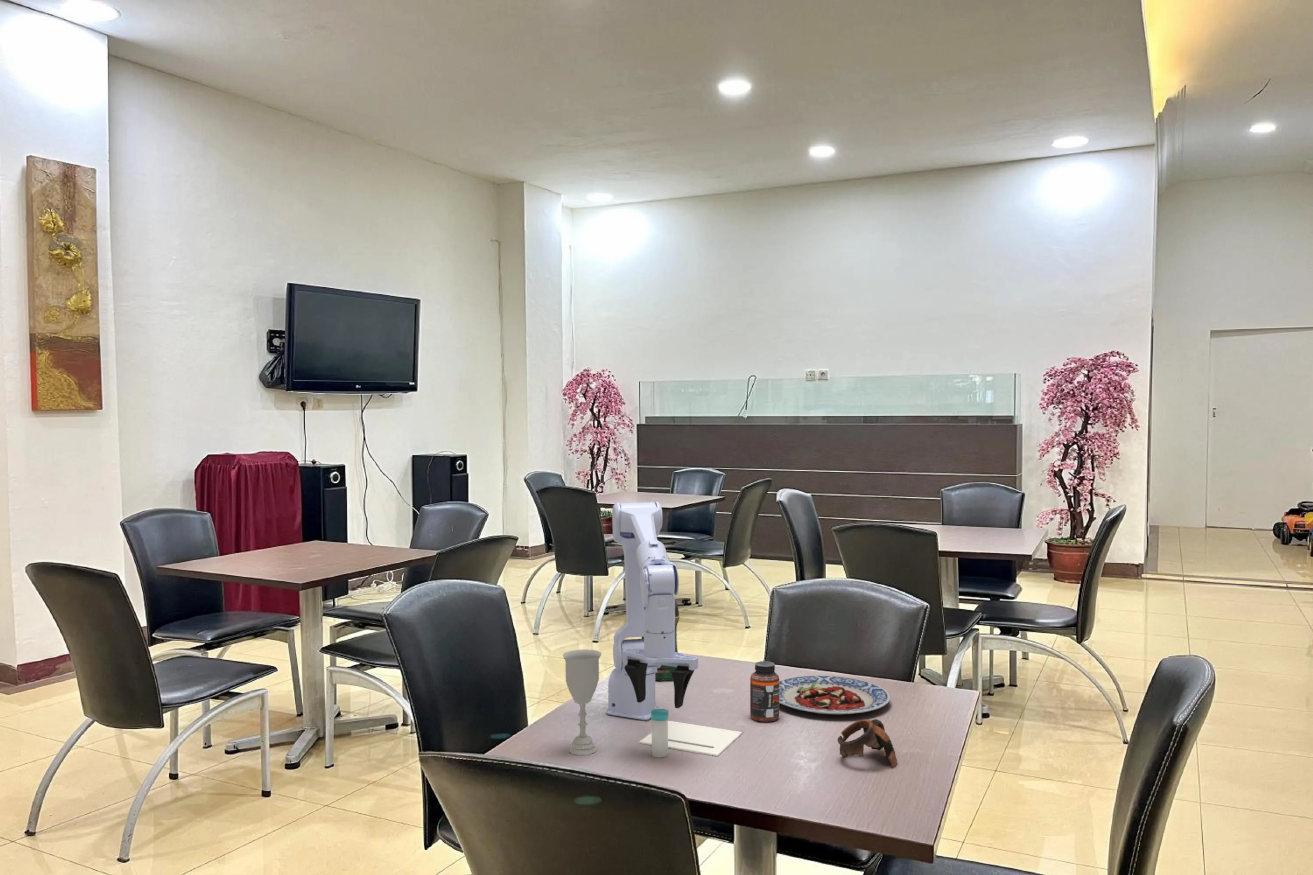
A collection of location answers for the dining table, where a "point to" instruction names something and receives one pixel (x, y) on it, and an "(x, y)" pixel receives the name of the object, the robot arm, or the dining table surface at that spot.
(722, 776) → the dining table surface
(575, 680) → the chalice
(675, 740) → the paper
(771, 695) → the supplement bottle
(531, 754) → the dining table surface
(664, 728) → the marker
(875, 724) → the brown curved ring piece
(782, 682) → the ceramic plate
